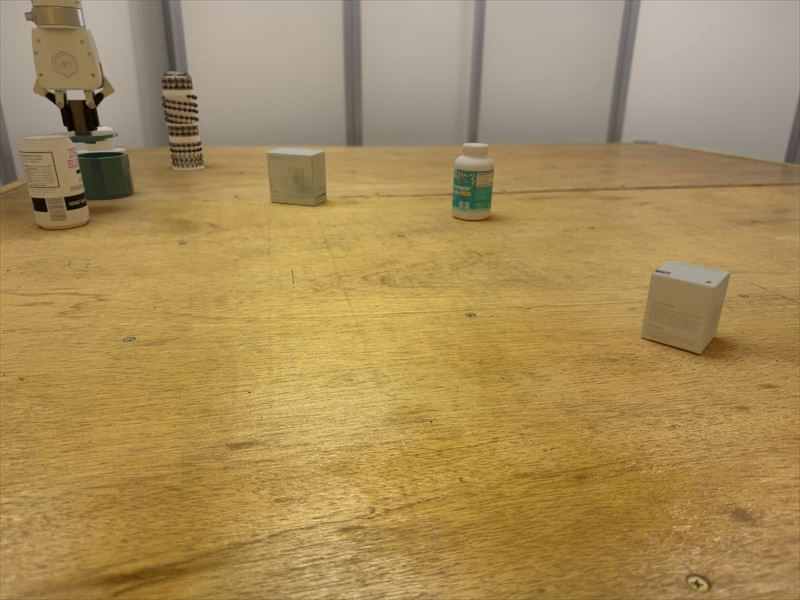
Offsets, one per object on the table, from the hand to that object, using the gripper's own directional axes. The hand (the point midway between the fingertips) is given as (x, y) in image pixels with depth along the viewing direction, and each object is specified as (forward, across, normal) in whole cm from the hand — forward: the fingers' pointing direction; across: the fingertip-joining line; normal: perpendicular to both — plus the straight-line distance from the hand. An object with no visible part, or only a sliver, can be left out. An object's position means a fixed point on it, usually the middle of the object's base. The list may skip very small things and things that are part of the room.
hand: (82, 129), depth 103 cm
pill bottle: (+15, +70, -21) cm, 75 cm away
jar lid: (+1, 0, 0) cm, 1 cm away
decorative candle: (+15, +13, +48) cm, 51 cm away
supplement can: (+15, -3, -12) cm, 19 cm away
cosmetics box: (+15, +39, -2) cm, 42 cm away
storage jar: (+15, -1, +14) cm, 21 cm away
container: (+15, -4, +29) cm, 33 cm away
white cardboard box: (+16, +72, -75) cm, 105 cm away
